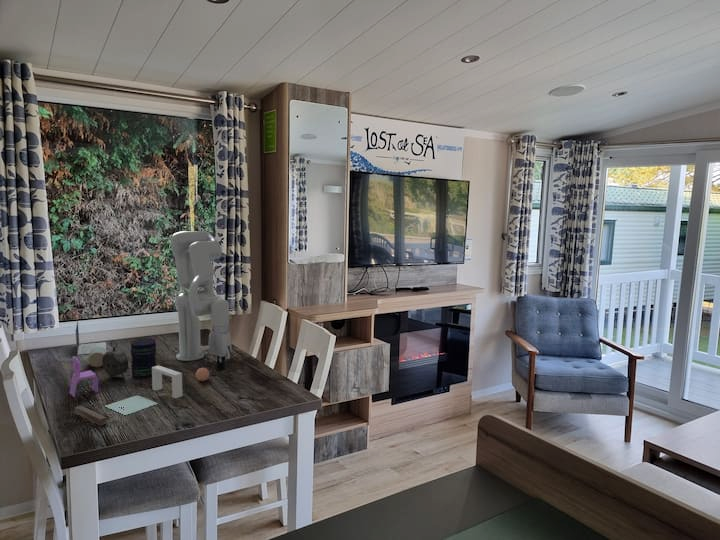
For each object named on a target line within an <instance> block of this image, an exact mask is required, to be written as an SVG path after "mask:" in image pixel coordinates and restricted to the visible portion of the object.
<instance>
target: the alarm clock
mask: <svg viewBox="0 0 720 540" xmlns="http://www.w3.org/2000/svg"><path fill="white" fill-rule="evenodd" d="M112 342H114V343H115V346H113V345H112ZM117 346H118V343H117V341H116V340H111V341H110V347H111V348H112V350H107V351H108V352H106V353H105V354H104V355H103V358H102V365H103V366H102V368H103V370H104V371H105V373H106V374H107V375H109V380H112V377H114V378H116V377H118V376H121V377H122V379H123V380H125V379H126V378H125V376H124V374H125V373H126V372H127V371H128V369H129V361H128V358H127V355H126V354H125V352H123V351H122V350H121V349H119V348H117Z"/></svg>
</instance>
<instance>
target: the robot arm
mask: <svg viewBox="0 0 720 540" xmlns="http://www.w3.org/2000/svg"><path fill="white" fill-rule="evenodd" d="M170 246H171V251H172V254H173V256H174V258H175V266H176V267H175V268H176V276H177V277H176V278H177V284H178V287H179V288H180V289H183V290H187V289H188V291H184V292H181V293H179V294H178V295H177V296H176V299H175V304H176V309H177V315H178V316H177V317H178V343H179V352H178V353H177V354H176V355H175V358H176V359H177V360H178V361H182V362H190V361H197V360H201V359H203V358H204V357H205V353H204V351H207V350H208V353H209V354H210V355H211V356H212V357H214V359H215V362H216V371H217V372H223V371H225V369H226V361H227V360H230V359H231V354H232V338H231V332H230V306H229V305H230V303H229V301H228V300H227V299H224V298H222V297H220V296H215V292H214V291H215V288H214V280H213V276H214V275H215V271H214V266H213V263H212V260H219V259H220V258H221V257H222V255H223V250H222V246H221V243H220V242H219V241H218V239H216V238H215V237H214V235H212V234H211V233H210V232H209V231H205V230H189V231H187V230H185V231H178V232H175V233H173V235H172V237H171V238H170ZM198 289H200V290H198ZM209 315H210V331H209V335H208V345H201V321H200V317H203V316H209Z"/></svg>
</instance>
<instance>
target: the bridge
mask: <svg viewBox="0 0 720 540" xmlns="http://www.w3.org/2000/svg"><path fill="white" fill-rule="evenodd" d="M163 375H164V376H167V377H171V391H172V392H171V393H172V395H171V397H172V398H173V399H178V398H181V397H183V373H182V372H180V371H176V370H173V369H170V368H168V367H164V366H161V365H158V364H157V365H156V366H155V367H152V378H151V383H152V385H151V387H152V390H153V391H154V390H155V391H154V392H157V391H160V390H162V389H163Z"/></svg>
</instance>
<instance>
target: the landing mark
mask: <svg viewBox="0 0 720 540" xmlns="http://www.w3.org/2000/svg"><path fill="white" fill-rule="evenodd" d="M153 405H154V406H156V405H159V403H158V402H155V401H154V400H150V399H148V398H146V397H143V396H140V395H138V394H137V395H134V396H131V397H128V398H125V399H121V400H119V401H116V402H113V403H109V404H106V405H104V406H105V408H106V407H107V409H109V410H111V409H112V410H111V411H113V410H114V411H113V412H115V411H116V412H115V413H118V412H119V413H118V414H120V413H121V414H120V415H122V414H123V415H122V416H124V415H126V416H129V415H131V414H135V413H137V412H139V411H143V410H146V409H147V408H150V406H151V407H154V406H153ZM119 407H120V408H119ZM121 407H122V409H121ZM123 407H124V408H123ZM123 409H124V410H123ZM142 409H143V410H142ZM128 414H129V415H128Z"/></svg>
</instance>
